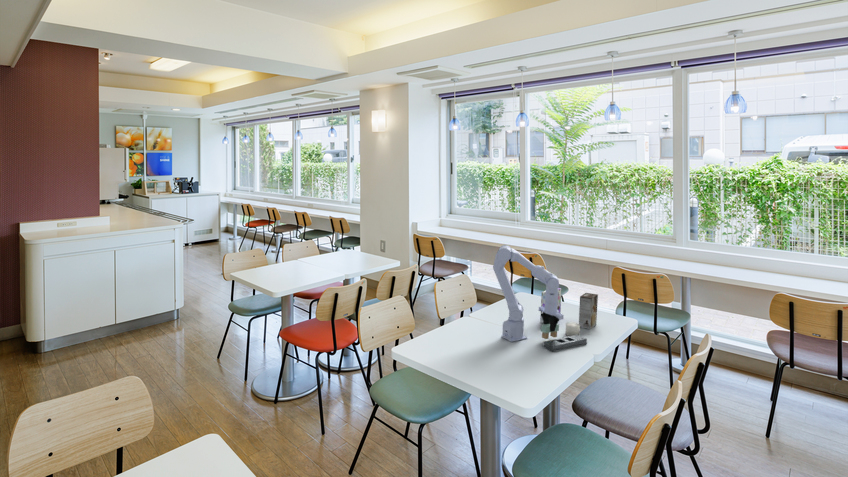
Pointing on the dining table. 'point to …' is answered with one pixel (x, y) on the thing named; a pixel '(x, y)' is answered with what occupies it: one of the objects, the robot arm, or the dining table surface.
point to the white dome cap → (572, 329)
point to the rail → (564, 343)
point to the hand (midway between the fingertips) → (549, 329)
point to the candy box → (544, 302)
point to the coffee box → (588, 310)
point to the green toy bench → (548, 331)
